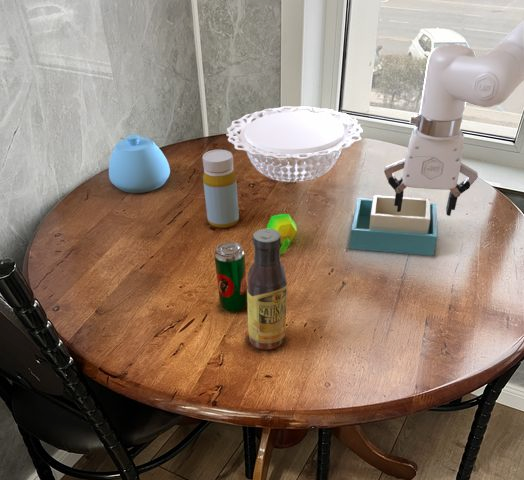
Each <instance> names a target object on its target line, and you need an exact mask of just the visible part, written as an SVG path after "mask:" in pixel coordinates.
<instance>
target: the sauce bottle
mask: <svg viewBox="0 0 524 480" xmlns="http://www.w3.org/2000/svg"><path fill="white" fill-rule="evenodd" d="M252 244H253V246H254V257H253V263H252V265H251V266H250V267H249V270H248V272H247V275H246V282H247V333H248V338H249V342H250V344H251V345H252V346H253V347H254V348H256V349H257V350H258V349H259V350H263V351H264V350H266V351H267V350H269V351H270V350H274V349H277V348H279V347H280V346H281V345H282V344H283V342H284V341H285V335H286V331H287V330H286V329H287V299H288V298H287V296H288V295H287V293H288V289H287V288H288V283H287V282H288V281H287V276H286V273H285V272H286V271H285V268H284V265H283V264H282V262H281V255H280V248H281V235H280V233H279V232H278V231H276V230H274V229H267V228H261V229H258V230H256V231H254V233H253V235H252Z"/></svg>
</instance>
